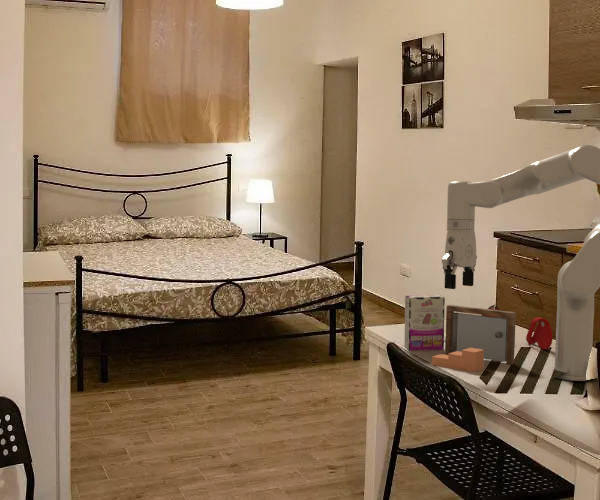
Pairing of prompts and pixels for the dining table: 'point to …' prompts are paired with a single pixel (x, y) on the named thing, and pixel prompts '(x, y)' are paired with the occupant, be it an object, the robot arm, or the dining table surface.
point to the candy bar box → (424, 322)
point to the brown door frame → (453, 308)
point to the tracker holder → (540, 333)
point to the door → (480, 335)
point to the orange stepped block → (461, 359)
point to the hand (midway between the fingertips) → (459, 287)
